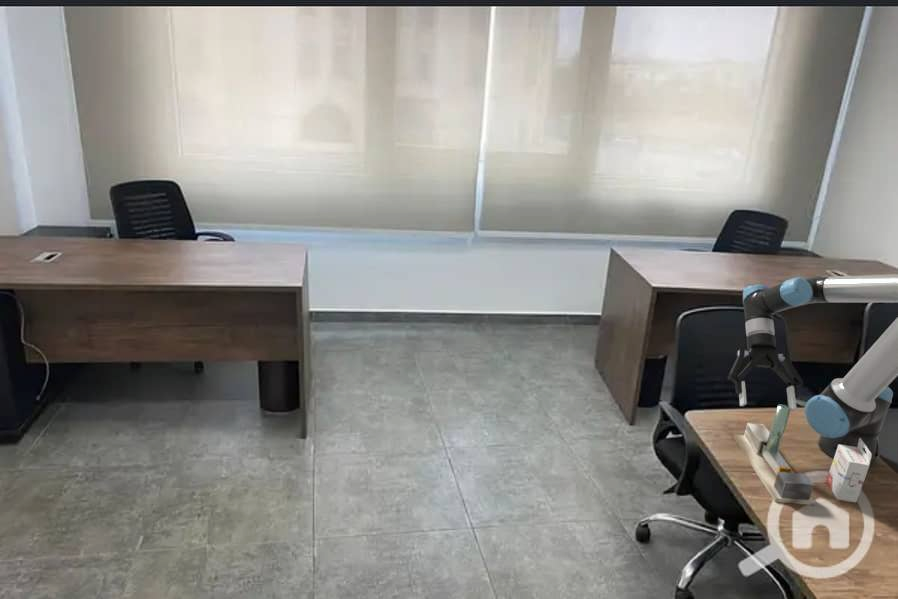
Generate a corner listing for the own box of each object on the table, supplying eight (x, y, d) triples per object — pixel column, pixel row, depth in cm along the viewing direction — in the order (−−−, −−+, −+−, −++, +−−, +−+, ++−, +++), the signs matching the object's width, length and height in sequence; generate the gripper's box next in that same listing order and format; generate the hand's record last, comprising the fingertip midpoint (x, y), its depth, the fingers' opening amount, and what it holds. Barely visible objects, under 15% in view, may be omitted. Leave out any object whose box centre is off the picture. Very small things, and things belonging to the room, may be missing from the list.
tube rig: (767, 440, 189) (771, 424, 187) (814, 505, 162) (820, 486, 160) (733, 437, 190) (737, 420, 188) (774, 501, 162) (780, 483, 160)
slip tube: (759, 437, 187) (773, 389, 181) (789, 478, 169) (805, 425, 163) (748, 436, 187) (762, 387, 181) (777, 477, 169) (793, 424, 163)
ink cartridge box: (824, 480, 173) (840, 433, 167) (844, 483, 172) (861, 436, 167) (836, 500, 165) (853, 451, 159) (857, 503, 164) (874, 455, 159)
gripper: (797, 344, 190) (806, 414, 181) (712, 336, 191) (717, 406, 182) (810, 335, 183) (820, 408, 174) (722, 327, 184) (728, 399, 175)
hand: (768, 407), depth 178 cm, fingers open, 13 cm apart
